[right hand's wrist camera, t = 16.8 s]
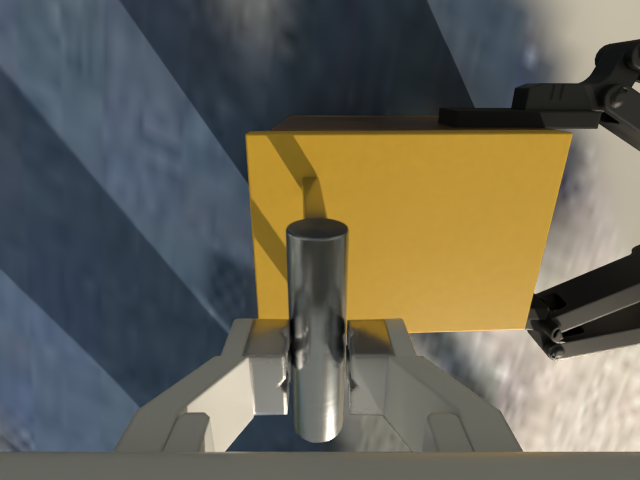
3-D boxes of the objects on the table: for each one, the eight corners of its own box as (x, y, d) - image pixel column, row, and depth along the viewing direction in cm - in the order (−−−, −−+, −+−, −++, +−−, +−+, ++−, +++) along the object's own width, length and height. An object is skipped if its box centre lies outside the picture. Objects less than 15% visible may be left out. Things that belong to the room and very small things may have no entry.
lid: (261, 324, 19) (235, 484, 11) (248, 131, 16) (197, 172, 8) (513, 317, 20) (650, 464, 12) (556, 129, 16) (791, 167, 8)
